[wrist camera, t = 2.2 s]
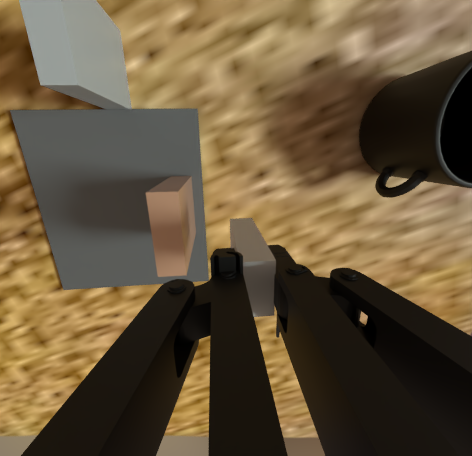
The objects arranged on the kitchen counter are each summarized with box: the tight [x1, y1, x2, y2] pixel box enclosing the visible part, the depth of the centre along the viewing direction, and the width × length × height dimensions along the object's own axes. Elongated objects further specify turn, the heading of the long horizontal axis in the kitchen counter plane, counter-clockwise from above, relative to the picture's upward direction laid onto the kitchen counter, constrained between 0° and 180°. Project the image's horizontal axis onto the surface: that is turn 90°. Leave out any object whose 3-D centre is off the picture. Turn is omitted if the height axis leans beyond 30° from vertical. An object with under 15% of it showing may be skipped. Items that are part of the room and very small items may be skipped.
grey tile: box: [19, 0, 132, 109], centre depth 16 cm, size 6×2×9 cm, turn 1°
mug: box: [359, 51, 472, 197], centre depth 20 cm, size 9×12×9 cm
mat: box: [10, 109, 209, 290], centre depth 24 cm, size 18×16×1 cm
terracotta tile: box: [146, 176, 196, 277], centre depth 20 cm, size 6×2×9 cm, turn 1°
